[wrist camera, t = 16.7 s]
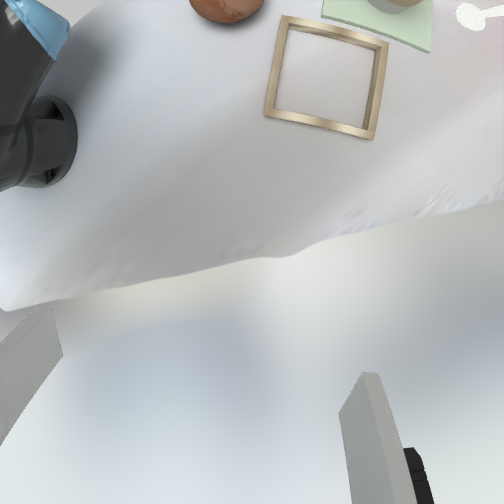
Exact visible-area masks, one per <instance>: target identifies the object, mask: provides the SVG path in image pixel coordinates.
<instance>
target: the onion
mask: <svg viewBox="0 0 504 504" xmlns="http://www.w3.org/2000/svg"><path fill="white" fill-rule="evenodd" d="M263 1H264V0H189V2H190V4H191V6H192V7H193V8H194V10H195V11H196V12H197V13H198V14H199V15H201V16H202V17H204V18H206V19H208V20H210V21H214V22H221V23H233V22H239V20H242V19H245V18H247V17H249V16H250V15H252V14H253V13H254V12H255V11H256V10H257V9H258V8H259V7H260V6H261V5H262V3H263Z"/></svg>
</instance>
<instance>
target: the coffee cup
mask: <svg viewBox="0 0 504 504" xmlns="http://www.w3.org/2000/svg"><path fill="white" fill-rule="evenodd" d="M367 1H368V2H369V3H370V4H371V5H372V6H374V7H375V8H376V9H378V10H380V11H382V12H385V13H389V14H398V13H401V12H402V11H404V10H406V9H407V8H409V7H411V6H414V5H416V4H418V3H420V2H422V1H423V0H367Z"/></svg>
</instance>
